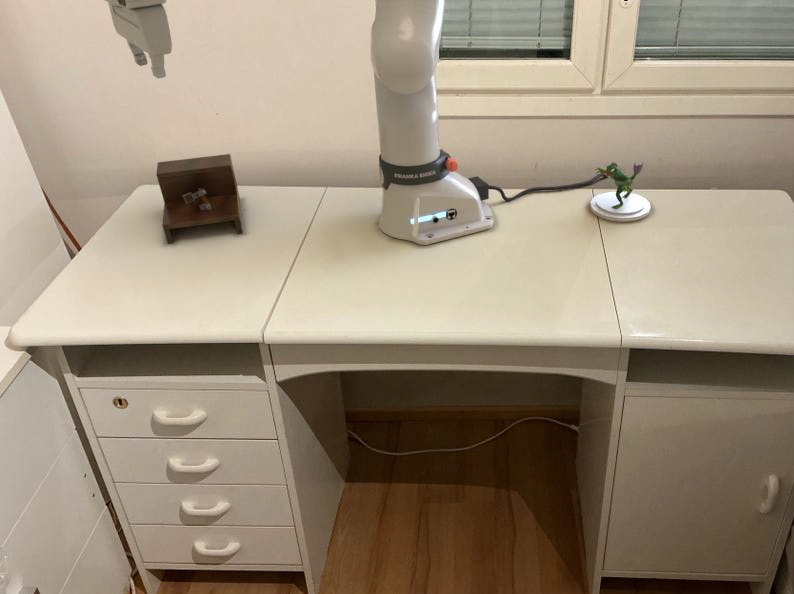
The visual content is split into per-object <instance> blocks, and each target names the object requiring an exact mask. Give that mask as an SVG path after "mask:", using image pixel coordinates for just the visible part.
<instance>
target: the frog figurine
mask: <svg viewBox="0 0 794 594" xmlns="http://www.w3.org/2000/svg"><path fill="white" fill-rule="evenodd" d="M604 166H605V167H606V169H604V168H601V167H599V166H597V168H595V169H594V170H595V171H596V173H595V174H596V175H598V174H600V173H601V175H602V174H606V175H607V176H609V178H610V179H612V180H613V181H614V184H615V186H616V187H617V188H616V191H608V192H607V191H606V192H603V193H599V194H597V195H595V196H594V197H592V198H591V200H590V206H589V208H590V211H591V212H592V213H593V214H594V215H595V216H597V217H599V218H601V219H603V220H607V221H612V222H618V223H619V222H620V223H621V222H622V223H625V222H627V223H628V222H634V221H639V220H642V219H644V218H646V217H647V216H648V215H649V214H650V211H651V203H650V202H649V200H648V199H647V198H645V197H644V196H642V195H639V194H636V193H632V192H633V191H634V188H632V187H631V185H632V184H634V180H635V178H636V177H637V176H638V175H639V174H640V173H641V171H642V169H643V167H644V162H642V164H640V163H639V164H638V165H636V163H634V164H633V174H632V175H631V176H629V175H625V172H623V171H624V170H626V169H625V168H624V169H622V168H619V166H618V163H616V162H612V163H611V164H610V165H604ZM597 170H598V171H597ZM599 176H600V175H599Z"/></svg>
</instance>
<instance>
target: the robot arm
mask: <svg viewBox="0 0 794 594" xmlns="http://www.w3.org/2000/svg"><path fill="white" fill-rule="evenodd" d="M104 1H105V2H106V3H108V8H109V12H110V17H111V20H112V23H113V26H114V27H113V28H114V29H115V32H116V33H117V35H119V36H120V37H122V38H123V39H125V40H126V42H127V45H128V48H129V49H130V51H131V53H132V56H133V59H134V62H135V64H136V65H138V66H139V67H142V66H147V65H148V59H150V63H151V66H150V69H151V72H152V75H153V76H154V77H155V78H156V79H163V78H166V76H167V74H166V70H165V55H169V54H171V53H172V51H173V41H172V36H171V30H170V24H169V20H168V16H167V11H166V9H165V7H164V5H165V4H166V3H167V0H104ZM375 5H376V7H375V14H374V20H373V22H372V25H371V29H370V63H371V67H372V69H373V80H374V92H375V101H376V102H375V105H376V117H377V128H378V129H377V130H378V139H379V150H380V151H379V152H380V154H379V156H378V171H379V179H380V184H381V187H382V202H381V212H380V218H379V222H378V226H379V229H380V230H381V232H383V233H384V234H385V235H387V236H389V237H391V238H394V239H398V240H404V241H411V242H412V243H415V244H418V245H421V246H427V245H432V244H436V243H439V242H440V243H441V242H445V241H448V240H452V239H457V238H459V237H464V236H468V235H471V234H475V233H479V232H483V231H488V230H490V229H492V227H493V226H494V223H495V222H494V221H495V219H494V215H493V211H492V210H491V208H490V206H489V205H488V204H487V203H486V202H485V201H486V200H489V199H490V198H489V197H490V191H489V190H495V191H497V192H499V193H500V196H501V198H502V200H504V201H505V202H512V201H514V200H517V199H519V198H521V197H522V196H524V195H526V194H529V193H532V192H542V191H545V192H546V191H559V190H567V189H573V188H579V187H582V186H586V185H589V184H592V183H594V182H595V181H596V180H598V179H599V178H601V177H602V178H605V179H609V178H610V176H607V175H606V173H605V174H602V175H601V173H600V172H599V173H597V174H596V175H595V176H594V177H592V178H590V179H589V180H584V181H582V182H577V183H571V184H564V185H556V186H555V185H554V186H538V187H530V188H527V189H523V190H522V191H520V192H519V193H517V194H516V195H514V196H512V197H508V196H506V193H505V192H504V190H503V189H502V188H501V187H499V186H495V185H490V184H489V183H487V182H486V181H484V180H483V179H482V178H481V177H479V175H477V176H473V177H466V176H464V175H462V174H460V173H459V172H457V169H458V168H459V164H458V162H456V159H455V158H453V157H452V156H451V155H450V153H448V152H446V151H445V150H444V149H443V147H441V145H440V144H441V143H440V141H441V140H440V124H439V123H440V122H439V121H440V120H439V105H438V92H437V79H436V68H437V64H438V58H439V52H440V44H441V38H442V33H443V32H442V31H443V23H444V16H445V8H446V0H376V4H375ZM146 54H148V58H147V55H146ZM599 175H600V176H599Z"/></svg>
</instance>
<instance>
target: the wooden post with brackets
mask: <svg viewBox="0 0 794 594" xmlns="http://www.w3.org/2000/svg"><path fill="white" fill-rule="evenodd" d="M205 194H206V191H205V190H204V189H203V190H202V188H199V189H198V192H196V193H194V194H192V193H191V192H190V193H187V194H184V195H182V196H183V198H184V200H185V202H186V204H188V203H190V202H193V201H195V200H194V199H196V198H198V197H200V198H201V199H202V200H203V201H204V204H202V205H199V206H200V208H201V210H205V209H207V210H208V211H211V210H212V209H211V205H210V203H209V202H208V200H207V198H206V196H205Z"/></svg>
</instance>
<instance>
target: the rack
mask: <svg viewBox="0 0 794 594" xmlns="http://www.w3.org/2000/svg"><path fill="white" fill-rule="evenodd" d="M233 165H234V164H233V161H232V155H231V154H230V153H227V154H217V155H209V156H201V157H191V158H184V159H175V160H166V161H158V162H157V166H156V173H155V175H156V178H157V181H158V185H159V189H160V193H161V196H162V199H163V203H164V204H163V213H162V225H161V226H162V229H163V233H164V236H165V239H166V243H167V244H170V245H171V244H174V235H175V229H178V228H179V229H181V228H187V227H188V228H189V227H195V226H203V225H209V224H216V223H225V222H231V221H232V222H233V221H234V223H235V230H236V232H237V233H236V234H237V235H242V234H244V230H243V218H242V206H241V197H240V193H239V188H238V184H237V179H236V174H235V169H234V166H233ZM199 188H202V190H203V189H204V190H205V191H206V194H205V196H206V198H207V200H208V202H209V203H210V205H211V209H212V210H211V211H208V210H207V209H205V210H201V208H200V206H199V205H202V204H204V201H203V200H202V199H201V198H200V197H198V198H196V199H194V200H195V201H193V202H190V203H188V204H186V202H185V200H184V198H183V196H182V195H184V194H187V193H190V192H191V193H192V194H194V193H196V192H198V189H199Z"/></svg>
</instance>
